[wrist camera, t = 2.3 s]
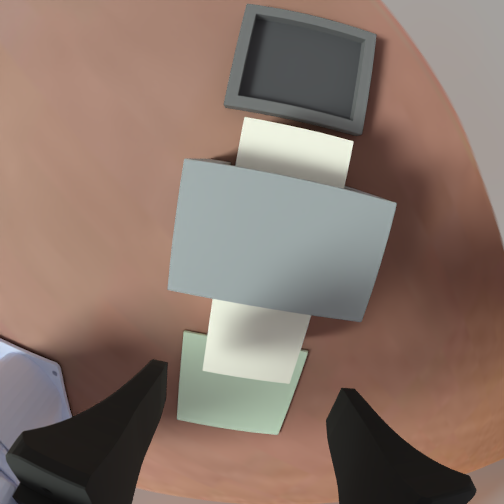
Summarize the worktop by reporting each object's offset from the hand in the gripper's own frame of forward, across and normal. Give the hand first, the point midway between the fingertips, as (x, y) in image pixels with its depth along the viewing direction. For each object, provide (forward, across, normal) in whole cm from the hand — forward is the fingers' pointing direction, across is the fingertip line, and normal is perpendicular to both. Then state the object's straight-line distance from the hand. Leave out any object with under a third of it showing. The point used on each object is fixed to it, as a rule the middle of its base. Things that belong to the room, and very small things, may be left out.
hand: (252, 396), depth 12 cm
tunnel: (+7, 0, -6) cm, 10 cm away
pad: (+7, 0, +6) cm, 10 cm away
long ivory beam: (+7, 0, -4) cm, 9 cm away
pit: (+7, 0, -14) cm, 16 cm away
